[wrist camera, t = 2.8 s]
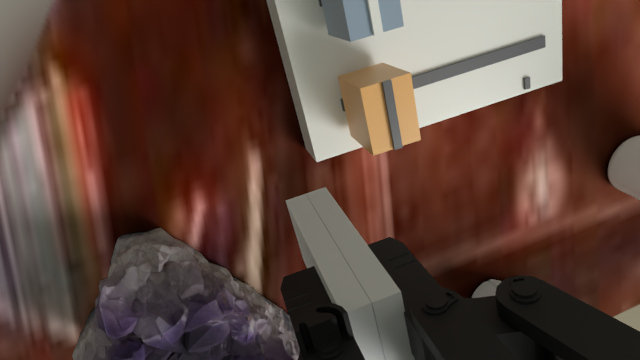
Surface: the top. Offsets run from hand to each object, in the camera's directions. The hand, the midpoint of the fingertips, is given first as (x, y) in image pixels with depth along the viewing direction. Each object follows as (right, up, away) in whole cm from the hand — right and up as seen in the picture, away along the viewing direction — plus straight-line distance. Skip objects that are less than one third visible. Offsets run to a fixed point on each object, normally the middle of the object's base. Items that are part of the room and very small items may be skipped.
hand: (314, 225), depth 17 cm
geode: (-8, -9, +20) cm, 23 cm away
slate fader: (+2, +12, +10) cm, 16 cm away
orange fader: (+3, +7, +12) cm, 14 cm away
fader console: (+7, +13, +15) cm, 21 cm away
